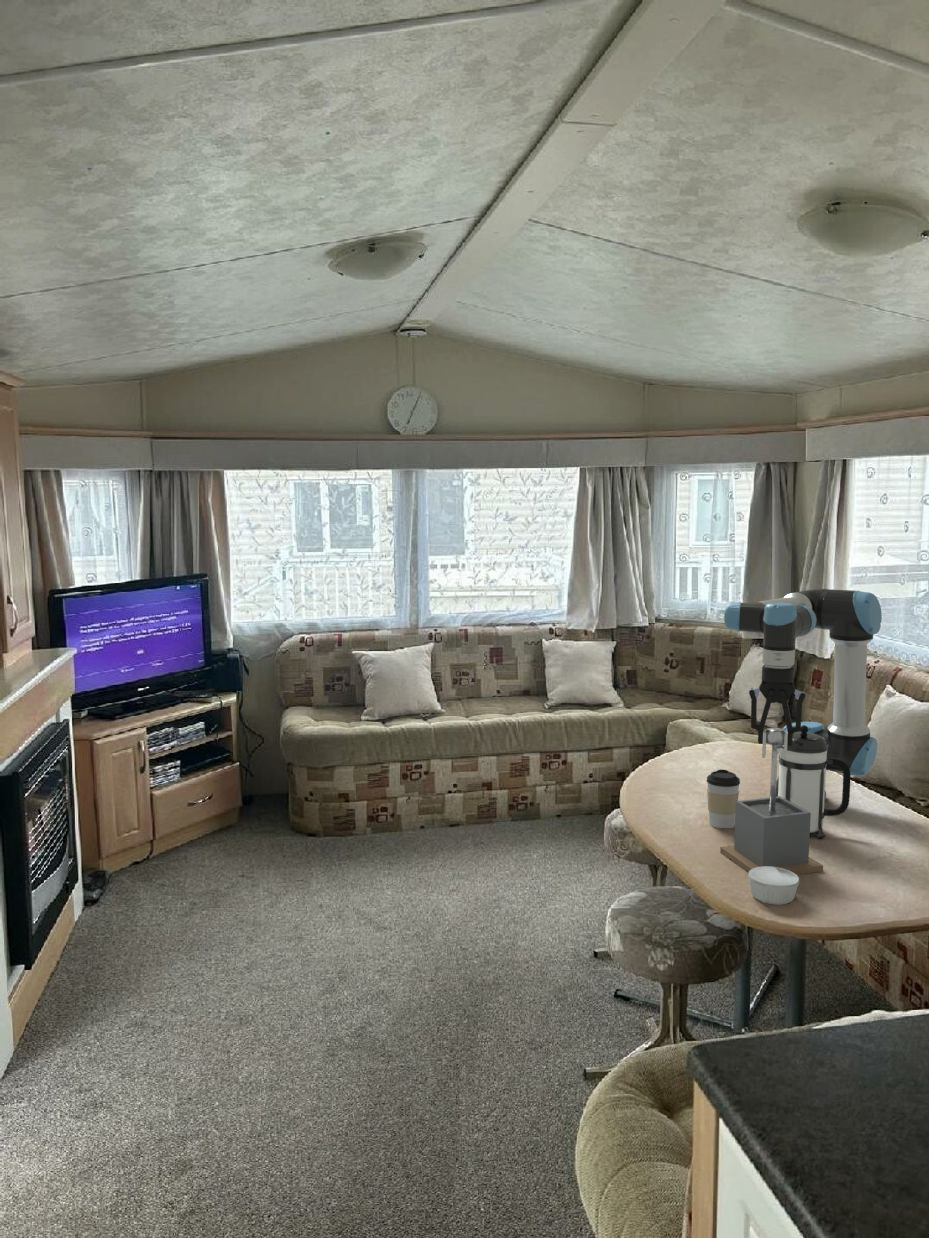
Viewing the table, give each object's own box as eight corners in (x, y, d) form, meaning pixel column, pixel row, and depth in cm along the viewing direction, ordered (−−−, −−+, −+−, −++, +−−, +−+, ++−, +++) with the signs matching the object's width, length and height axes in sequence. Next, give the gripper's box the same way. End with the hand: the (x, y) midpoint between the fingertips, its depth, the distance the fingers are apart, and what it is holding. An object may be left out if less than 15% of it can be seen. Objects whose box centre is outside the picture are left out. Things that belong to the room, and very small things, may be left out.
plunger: (777, 804, 248) (781, 723, 245) (800, 817, 239) (804, 733, 236) (745, 808, 246) (747, 726, 243) (766, 821, 237) (769, 736, 234)
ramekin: (808, 899, 223) (809, 877, 222) (778, 911, 217) (778, 889, 216) (768, 882, 232) (768, 862, 231) (737, 894, 226) (738, 873, 225)
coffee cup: (739, 831, 266) (741, 778, 263) (706, 829, 267) (707, 777, 265) (737, 819, 274) (739, 768, 272) (704, 817, 276) (706, 767, 274)
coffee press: (807, 846, 254) (812, 736, 250) (759, 828, 267) (763, 723, 263) (849, 833, 263) (854, 726, 259) (801, 816, 277) (805, 714, 272)
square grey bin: (780, 844, 255) (782, 792, 253) (822, 871, 238) (825, 815, 236) (720, 852, 251) (722, 798, 249) (758, 879, 234) (761, 822, 231)
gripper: (740, 666, 236) (737, 758, 240) (815, 670, 231) (811, 764, 234) (742, 660, 243) (739, 750, 247) (815, 664, 238) (811, 756, 241)
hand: (774, 757), depth 240 cm, fingers closed on plunger, 4 cm apart
